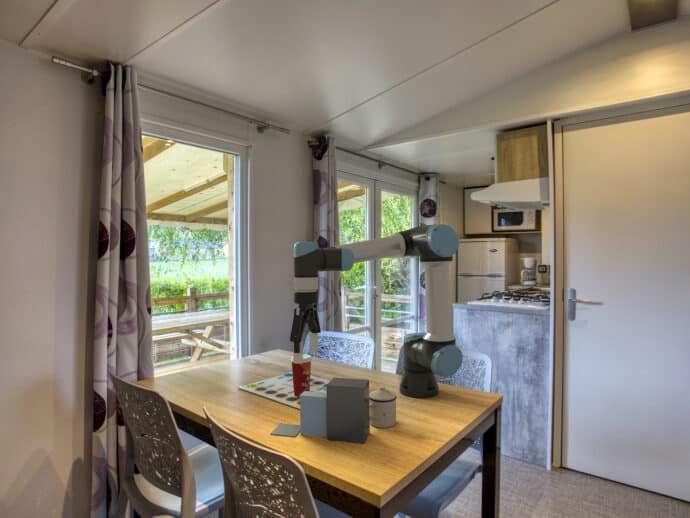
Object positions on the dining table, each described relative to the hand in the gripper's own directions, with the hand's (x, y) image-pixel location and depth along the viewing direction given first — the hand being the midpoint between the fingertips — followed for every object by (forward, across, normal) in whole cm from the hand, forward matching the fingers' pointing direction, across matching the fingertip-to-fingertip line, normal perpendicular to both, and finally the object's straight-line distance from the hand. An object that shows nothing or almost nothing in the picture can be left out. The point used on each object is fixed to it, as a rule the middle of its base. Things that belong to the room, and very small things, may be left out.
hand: (306, 358), depth 133 cm
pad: (+22, +4, -5) cm, 23 cm away
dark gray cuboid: (+22, +3, +14) cm, 26 cm away
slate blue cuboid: (+22, +4, +7) cm, 23 cm away
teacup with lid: (+22, -8, +22) cm, 32 cm away
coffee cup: (+22, -28, -13) cm, 38 cm away
